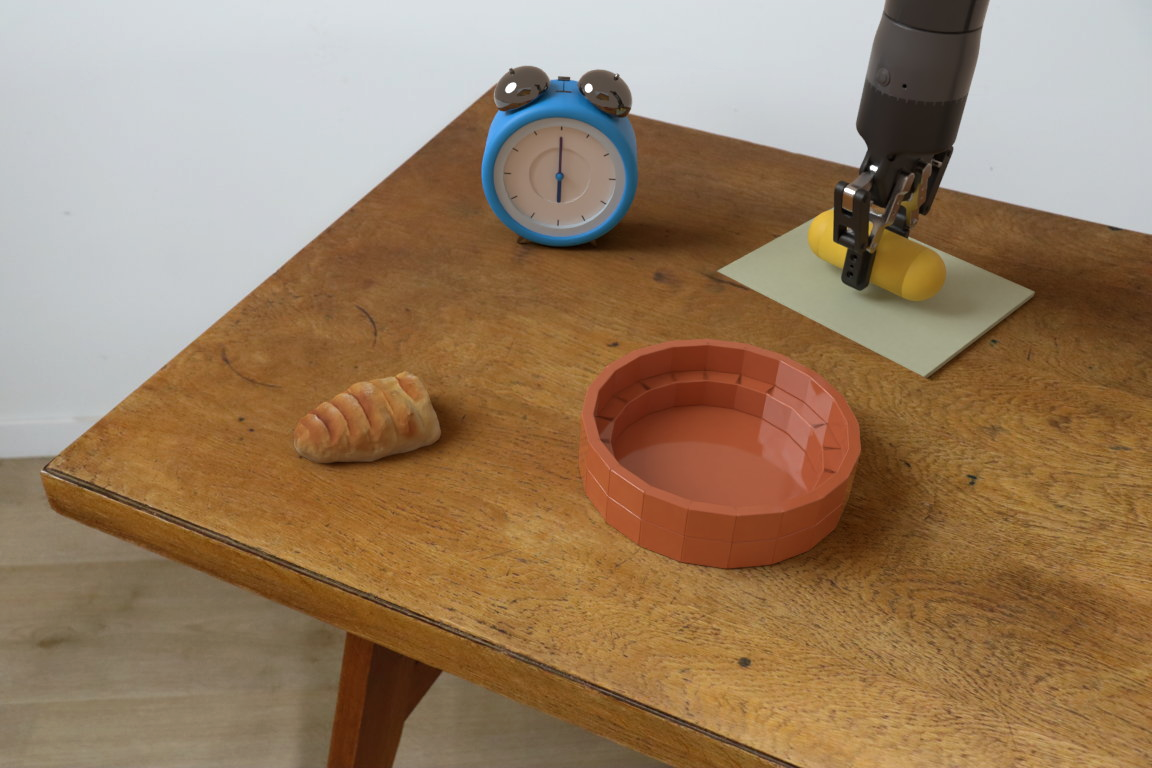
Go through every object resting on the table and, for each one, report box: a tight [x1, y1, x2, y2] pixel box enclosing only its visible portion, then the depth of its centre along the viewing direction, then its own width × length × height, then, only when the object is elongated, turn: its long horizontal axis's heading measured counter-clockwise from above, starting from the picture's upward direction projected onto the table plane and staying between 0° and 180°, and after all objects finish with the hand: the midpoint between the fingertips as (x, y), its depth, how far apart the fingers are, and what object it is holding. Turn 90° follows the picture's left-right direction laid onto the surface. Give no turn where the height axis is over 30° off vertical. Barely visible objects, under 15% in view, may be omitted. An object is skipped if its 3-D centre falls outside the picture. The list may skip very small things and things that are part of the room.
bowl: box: [577, 338, 862, 570], centre depth 72 cm, size 18×18×5 cm
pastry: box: [293, 370, 442, 464], centre depth 74 cm, size 9×7×4 cm
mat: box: [717, 206, 1036, 379], centre depth 93 cm, size 20×20×1 cm
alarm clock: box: [480, 65, 639, 248], centre depth 94 cm, size 13×6×15 cm, turn 88°
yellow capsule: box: [808, 209, 946, 301], centre depth 91 cm, size 12×4×4 cm, turn 45°
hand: (870, 274), depth 92 cm, fingers closed on yellow capsule, 4 cm apart
